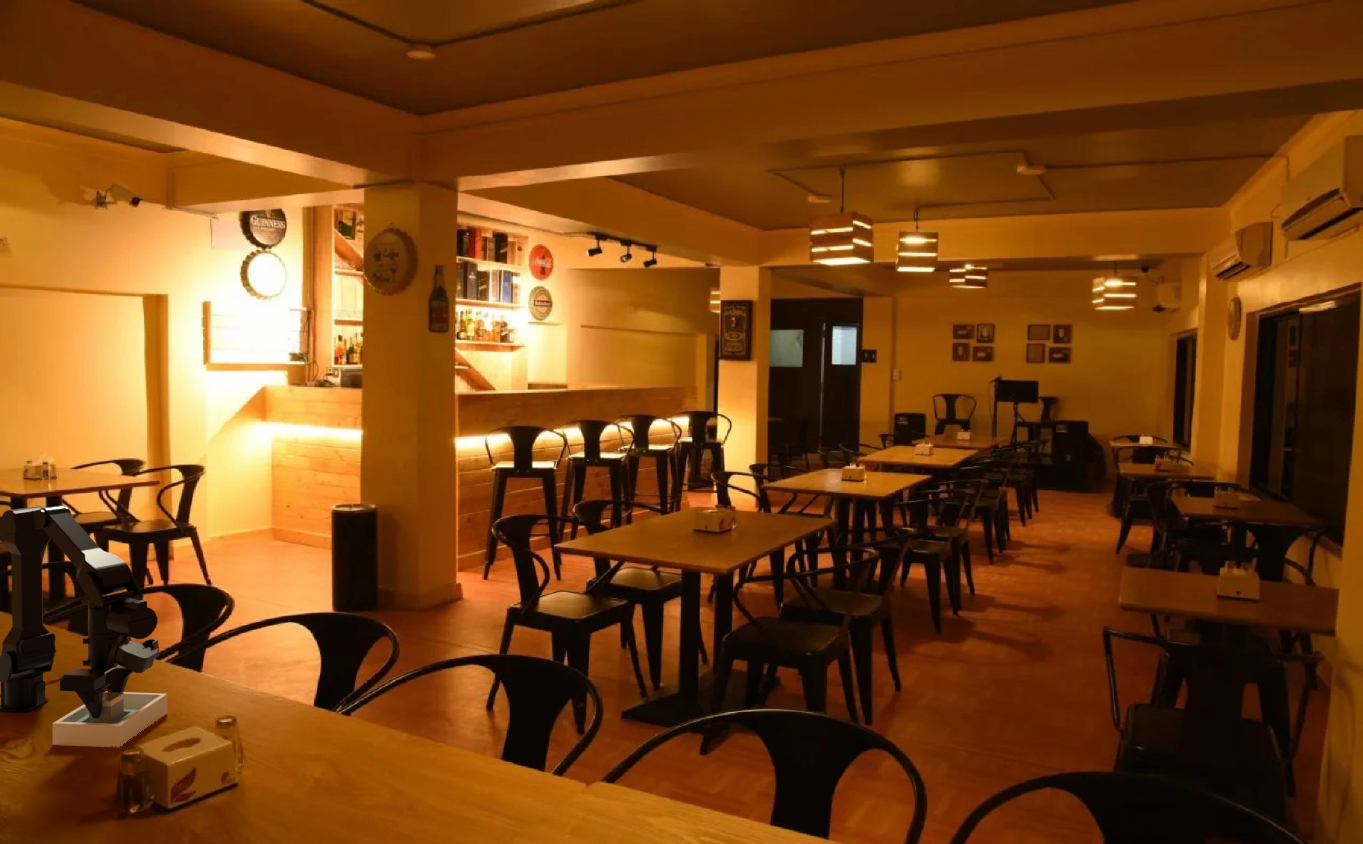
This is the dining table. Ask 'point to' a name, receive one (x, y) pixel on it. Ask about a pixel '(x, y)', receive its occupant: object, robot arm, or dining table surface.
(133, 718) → the walled box
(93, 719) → the square block
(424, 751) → the dining table surface
